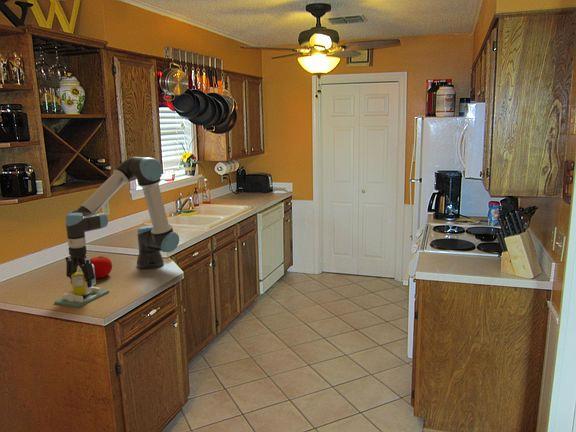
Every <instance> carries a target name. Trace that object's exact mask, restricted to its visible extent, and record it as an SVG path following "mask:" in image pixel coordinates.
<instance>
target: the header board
mask: <svg viewBox="0 0 576 432" xmlns="http://www.w3.org/2000/svg"><path fill="white" fill-rule="evenodd" d="M91 291H92V292H91V293H89V294H88V295H87V296H79V295H74V294H73V292H72V293H71V292H69V293H66V292H65V293H62V297H61V298H59V299H57V300H55V301H54V304H55V305H60V306H64V307H65V306H67V307H72V308H76V309H78V308H81V307H82V306H84V305H85V306H86V305H87V304H89V303H90V302H92V301H95V300H96V299H99V298H101V297H102V296H103V297H104V296H105V295H107V294H109V293H110V290H108V289H102V288H101V286H100V287H98V286H95V285H94V286H92V287H91Z"/></svg>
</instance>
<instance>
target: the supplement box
mask: <svg viewBox="0 0 576 432" xmlns="http://www.w3.org/2000/svg"><path fill="white" fill-rule="evenodd" d="M88 278H89V277H88ZM71 279H72V285H71V288H72V287H73V290H72V293H73V294H74V295H79V296H87V295H88V294H86V288H85V281H86V279H85V276H84V274H83V272H82V271H79V270H77V271H76V272H75V273H73V274H72V275H71ZM71 279H70V280H71Z"/></svg>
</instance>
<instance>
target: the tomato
mask: <svg viewBox="0 0 576 432" xmlns="http://www.w3.org/2000/svg"><path fill="white" fill-rule="evenodd" d="M90 259H92V264H93V265H94V270H95V279H103V278H105V277H107V276H108V275H109V274H110V273H111V271H112V269H113V263H112V261H111V259H110V258H109V257H108V256H104V255H102V256H94V257H92V258H90Z"/></svg>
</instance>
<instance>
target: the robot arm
mask: <svg viewBox="0 0 576 432" xmlns="http://www.w3.org/2000/svg"><path fill="white" fill-rule="evenodd" d="M163 172H164V171H163V166H162V164H161V163H160V161H159V160H157V159H156V158H154V157H145V156H132V157H129V158H126V159H125V160H124V161H122V162H121V163H120V164H119V165H117V167H116V168H115V169H113V171H112V174H111V175H110V176H109V177H108V178H107V179H106V180H105V181H104V182H103V183H102V184H101V185H100V186H99V187H98V189H96V190H95V191H94V192H93V193H92V194H91V195H90V196H89V197H88V198H87V199H86V200H85V201H84V202H83V203H82V204H81V205H80V206H79V207H78V208H77V209H73V210H70V211H69V212H68V214H66V215H65V217H64V218H65V220H64V221H65V229H66V230H65V231H66V237H67V245H68V254H69V256H67V257H65V261H66V278H69V279H70V284H71V289H72V291H73V287H72V279H71V275H72V274H73V273H75V272H76V271H78V267H80V268H81V269H82V272H83V274H84V276H85V279H86V281H85V288H86V294H89V293H91V292H92V291H91V286H92V284H91V280H92V279H94V278H95V277H94V272H93V268H92V259H91V258H87V255H86V254H87V252H88V251H87V246H86V245H87V244H86V243H87V241H86V234H85V233H86V232H90V231H96V230H101V229H103V228H106V227H107V226H108V224H109V219H108V216H107V214H106V213H104V212H98V211H99V210H100V209H101V208H102V207H103V206H104V205H105V204H106V203H107V202H108V201H109V200H110V199H111V198H112V197H113V196H114V195H115V194H116V192H118V191H119V190H120V189H121V188H122V187H123V186H124V185H125V184H128V183H129V182H130V181H131V180H135V179H136V180H137V185H138V186H139V187H141V188H142V191H143V195H144V196H143V197H144V200H145V202H146V207H147V210H148V214H149V218H150V222H151V225H144V226H140V227H139V228H138V229H137V234H136V236H137V242H138V243H137V245H138V255H137V260H136V267H137V268H138V269H143V270H144V269H145V270H148V269H149V270H150V269H156V268H160V267H162V266H164V263H165V261H164V258H163V256H162V253H172V252H174V251H175V250H176V249H177V248H178V245H179V244H180V236H179V234H178V233H176V232H174V230H173V225H171V224H169V220H168V217H167V213H166V209H165V205H164V199H163V197H162V192H161V188H160V183H161V178H162V175H163ZM161 252H162V253H161ZM82 265H83V266H82ZM88 277H89V278H88ZM95 279H96V278H95ZM92 287H93V286H92Z"/></svg>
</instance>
